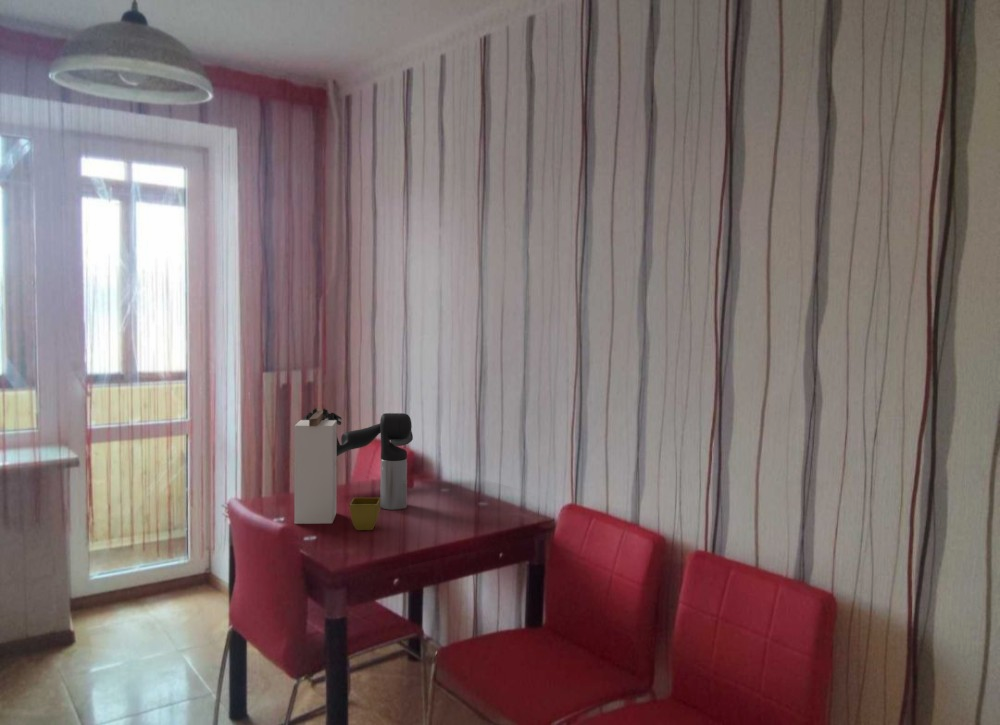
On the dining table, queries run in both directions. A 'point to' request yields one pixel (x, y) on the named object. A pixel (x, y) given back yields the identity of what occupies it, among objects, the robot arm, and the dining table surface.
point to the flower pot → (364, 512)
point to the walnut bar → (316, 418)
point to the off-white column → (315, 472)
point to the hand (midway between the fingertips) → (319, 411)
